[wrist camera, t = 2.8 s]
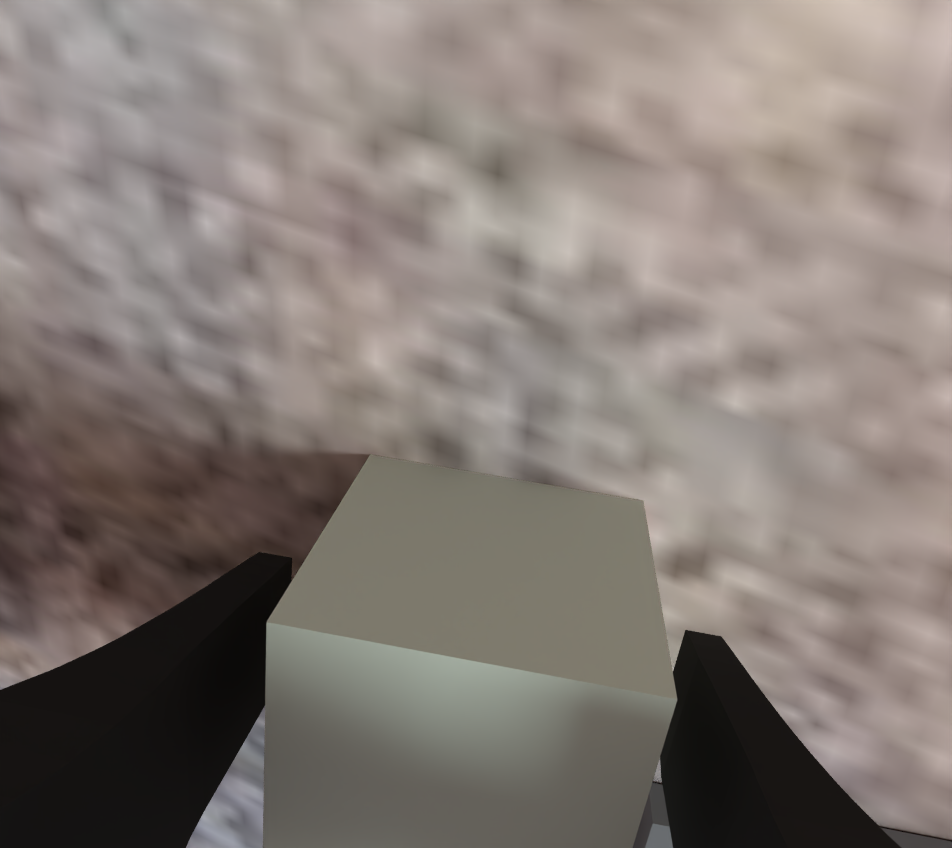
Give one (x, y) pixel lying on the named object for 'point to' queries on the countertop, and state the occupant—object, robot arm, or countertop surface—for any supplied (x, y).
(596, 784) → the cube
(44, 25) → the countertop surface
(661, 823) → the slate tile
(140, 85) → the countertop surface
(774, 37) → the countertop surface
